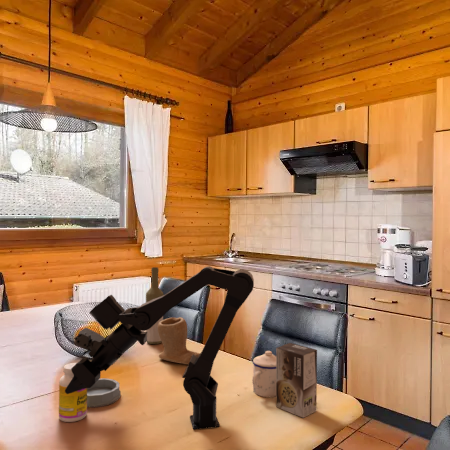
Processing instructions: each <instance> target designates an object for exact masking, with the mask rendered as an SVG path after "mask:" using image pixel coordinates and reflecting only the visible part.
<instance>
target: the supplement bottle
mask: <svg viewBox="0 0 450 450" xmlns="http://www.w3.org/2000/svg"><path fill="white" fill-rule="evenodd" d="M77 363H78V362H70V363H67V364H65V365H64V366H63V373H64V374H63V375H62V376H61V377H60V378H59V382H58V383H59V384H58V389H59V390H58V418H59V420H60V421H61V422H65V423H74V422H77V421H81V420H83V419H84V418H85V417H86V416H87V413H88V407H87V388H85V389H82V390H78V391H76V392H73V393H70V394H66V392H65V389H66V388H67V386H68V385H69V383H70V381H71V380H72V378H73V377H74V374H73V373H72V370H71V368H72V367H73V366H75V365H76V364H77Z"/></svg>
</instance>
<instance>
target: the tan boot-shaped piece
mask: <svg viewBox="0 0 450 450" xmlns="http://www.w3.org/2000/svg"><path fill="white" fill-rule="evenodd" d="M158 333H159V336H160V339H161V341H162V342H161V344H162V346H163V351H162V352H160V353H159V355H158V358H159V359H161V360H164V361H166V362H172V363H176V364H177V363H178V364H181V365H187V366H188V365H189V362H190V360H191V357H192V355H193V354H194V355H195V356H197V357H198V356H199V354H200V353H201V352H196V351H193V350H188V349H187V339H188V323H187V321H186V319H185V318H183V317H181V316H179V317H169V318H165V319H164V318H163V320H162V321H160V322H159V323H158Z"/></svg>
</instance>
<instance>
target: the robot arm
mask: <svg viewBox="0 0 450 450" xmlns="http://www.w3.org/2000/svg"><path fill="white" fill-rule="evenodd" d="M254 282H255V279H254V276H253V274H252V273H251V272H250V271H249V270H247V269H241V268H240V269H238V270H235V271H234V270H231V269H230V270H229V269H222V268H216V267H213V266H205V267H203V268H201V270H200V271H198V272H197V273H196V274H194V275H193V276H191V277H189V278H188V279H186V280H185V281H184V282H182V283H181V284H179V285H178V286H176V287H175V288H173V289H172V290H170V291H168V292H166V293H165V294H164V295H163V296H161V297H158V298H155V299H153V300H151V301H148V302H146V301H145V302H143V303H142V304H141V305H139V306H136V307H128V308H126V309H124V307H123V306H122V305H121V304H120V303H119V302H118V301H117V299H116V298H115V296H114V295H113V294H109V295H107V296H106V297H105V298H104V299H103V300H102V301H100V303H98V304H96V305H95V306H94V307H93V308H92V309H91V310H90V311H89V314H90V316H92V318H93V319H94V320H95V321H96V322H97V323H98V324H99V325H100V326H101V328H102V329H103V330H106V331H107V330H112V329H114V328H115V327H116V326H117V325H118V324H119V323H120V324H119V326H117V327H116V328H115V329H114V330H113V331H112V332H111V333H110V334H107V336H106V337H104V336H102V335H101V334H100V333H99V332H96V331H94V330H92V329H90V328H88V327H84V328H83V329H81V330H80V331H79V332H78V333H77V336H75V338H74V340H75V341H74V342H73V343H74V345H75V346H77V347H79V348H82V350H86V351H89V352H88V353H87V355H88V356H89V357H90V358H92V360H90V359H89V358H81V359H80V360H79V361H78V362H76V363H77V364H76V365H75V366H73V367H72V368H71V370H72V373H73V374H74V377H73V378H72V380H71V381H70V383H69V385H68V386H67V388H66V389H65V392H66V394H70V393H73V392H76V391H78V390H82V389H85V388H91V387H92V386H93V385H94V384H95V383H96V382H97V381H98V380H99V379H101V375H102V374H101V372H102V371H104V372H106V371H108V369H109V368H110V367H111V366H113V365H114V364H115V363H116V362H117V361H118V360H119V359H120V358H121V357H122V356H123V354H125V353H126V352H127V351H128V350H129V349H130V348H131V347H132V346H133V345H134V344H135V343H136V342H138V343H139V344H140V345H141V346H144V345H145V344H146V343H147V333H148V332H146V330H148V329H150V328H151V327H152V326H153V325H154V324H155V323H156V322H157V321H158V320H159V319H160V318H162V317H163V318H164V316H165V315H166V314H167V313H168V312H169V311H170V310H171V309H173V308H174V307H176V306H177V305H179V304H181V303H182V302H184V301H185V300H187V299H188V298H190V297H191V296H193V295H194V294H195V293H197V292H198V291H201V290H202V289H203V288H205V287H206V286H213V287H215V288H219V289H222V290H225V291H226V294H225V299H224V303H223V304H222V307H221V309H220V310H219V314H218V316H217V318H216V320H215V322H214V324H213V326H212V328H211V331H210V333H209V335H208V338H207V339H206V342H205V344H204V346H203V348H202V350H201V352H199V353H200V354H199V356H198V357H197V356H195V355H194V354H193V355H192V357H191V360H190V362H189V365H188V364H187V366H186V368H185V370H184V372H183V374H182V379H183V381H182V385H183V389H184V391H185V392H186V393H187V394H188V396H189V397H190V400H191V403H192V414H191V415H189V419H190V424H191V427H192V429H193V430H194V431H195V430H205V429H215V428H216V429H217V428H221V427H220V426H221V425H220V422H219V420H218V419H219V418H218V417H217V392H218V387H219V383H218V382H217V381H216V379H214V377H213V376H212V375H211V374H212V370H213V366H214V361H215V360H216V358H217V355H218V353H219V351H220V349H221V347H222V345H223V342H224V340H225V338H226V336H227V333H228V331H229V329H230V327H231V325H232V323H233V321H234V319H235V317H236V314H237V313H238V311H239V309H240V308H241V307H242V306H243V304H244V303H245V302H246V300H247V299H248V298H249V296H250V294H251V293H252V291H254V284H255V283H254Z"/></svg>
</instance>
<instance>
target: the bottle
mask: <svg viewBox="0 0 450 450" xmlns="http://www.w3.org/2000/svg"><path fill="white" fill-rule="evenodd" d="M159 272H160V271H159V267H156V266H155V267H153V266H152V267H151V286H150V288H149V289H148V290H147V291H146V293H145V303H146V302H148V301H151V300H153V299H155V298H158V297H161V296H163V295H165V294H164V292H163V291H162V289H160V287H159ZM162 320H164V316H163V317H162V318H160V319H159V320H158V321H157V322H156V323H155V324H154V325H153V326H152V327H151V328H150V329H148V330H146V331H145V332H148V333H147V341H146V343H147V344H149V345H159V344H162V341H161V339H160V336H159V333H158V323H159V322H160V321H162Z"/></svg>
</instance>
